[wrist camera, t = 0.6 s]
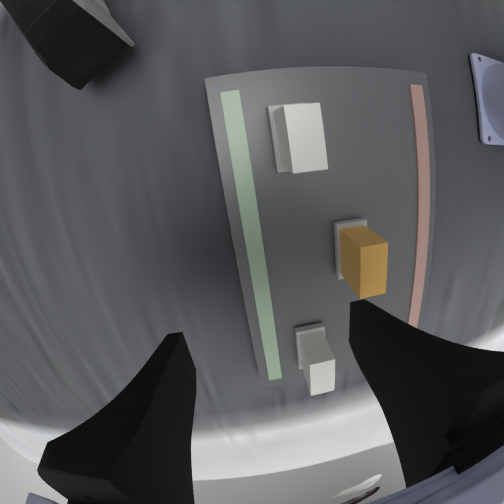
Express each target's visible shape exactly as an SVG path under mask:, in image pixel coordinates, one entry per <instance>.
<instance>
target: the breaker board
mask: <svg viewBox="0 0 504 504" xmlns="http://www.w3.org/2000/svg"><path fill="white" fill-rule="evenodd" d="M205 84H206V90H207V97H208V103H209V109H210V115H211V121H212V127H213V133H214V138H215V144H216V150H217V156H218V162H219V167H220V173H221V179H222V185H223V190H224V196H225V201H226V207H227V212H228V218H229V223H230V229H231V234H232V240H233V245H234V250H235V256H236V261H237V266H238V272H239V277H240V282H241V287H242V293H243V298H244V303H245V308H246V313H247V318H248V323H249V328H250V333H251V338H252V343H253V348H254V353H255V358H256V363H257V368H258V373H259V378H260V383H261V387H262V388H266V387H272V386H277V385H283V384H288V383H293V382H298V381H303V380H306V378H305V375H304V372H303V369H300V370H299V367H298V361H297V349H296V338H295V328H298V327H303V326H308V325H313V324H317V323H322V322H323V324H324V326H325V338H326V340H327V342H328V344H329V346H330V349H331V351H332V353H333V355H334V357H335V373H337V372H341V371H345V370H349V369H352V368H356V367H359V365H358V363H357V362H356V359H355V357H354V354H353V352H352V349H351V346H350V344H349V323H350V302H353V301H357V300H362V299H359V297H358V296H357V295H356V293H355V292H354V291H353V289H352V288H351V287H350V285H349V284H348V283H347V281H346V280H345V279H340V280H338V278H337V277H336V261H335V239H334V222H338V221H344V220H351V219H357V218H363V217H364V218H365V219H367V227H368V228H369V229H371V230H372V231H373V232H375V233H376V234H377V235H379V236H380V237H381V238H383V239H384V240H386V241H387V242H388V260H387V280H386V293H383V294H379V295H375V296H371V297H367V298H363V299H365V300H367V301H369V302H371V303H373V304H374V305H376V306H378V307H379V308H381V309H383V310H384V311H386V312H388V313H390V314H391V315H393V316H395V317H397V318H398V319H400V320H402V321H404V322H406V323H408V324H410V325H411V326H414V327H416V328H418V329H420V330H421V329H422V324H423V318H424V313H425V307H426V301H427V295H428V288H429V281H430V273H431V264H432V255H433V243H434V229H435V206H436V168H435V145H434V131H433V120H432V110H431V102H430V94H429V88H428V81H427V75H426V72H419V71H411V70H401V69H390V68H376V67H353V66H318V67H294V68H280V69H268V70H259V71H250V72H242V73H235V74H228V75H222V76H216V77H210V78H205ZM294 103H306V104H307V103H320V107H321V114H322V121H323V129H324V137H325V145H326V153H327V163H328V169H326V170H317V171H309V172H302V173H294V174H293V173H291V172H290V171H287V172H280V173H278V172H276V165H275V158H274V151H273V144H272V137H271V130H270V124H269V117H268V111H267V107H268V106H274V105H284V104H294Z"/></svg>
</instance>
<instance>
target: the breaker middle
mask: <svg viewBox="0 0 504 504" xmlns="http://www.w3.org/2000/svg"><path fill="white" fill-rule="evenodd" d="M334 239H335V261H336V277H337V278H338V280H340V279H345V280H346V281H347V283H348V284H349V285H350V287H351V288H352V289H353V291H354V292H355V293H356V295H357V296H358V297H359V299H363V298H367V297H371V296H375V295H379V294H383V293H386V280H387V260H388V242H387V241H386V240H384V239H383V238H381V237H380V236H379V235H377V234H376V233H375V232H373V231H372V230H371V229H369V228H368V227H367V219H365V218H364V217H363V218H357V219H351V220H344V221H338V222H334Z"/></svg>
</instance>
